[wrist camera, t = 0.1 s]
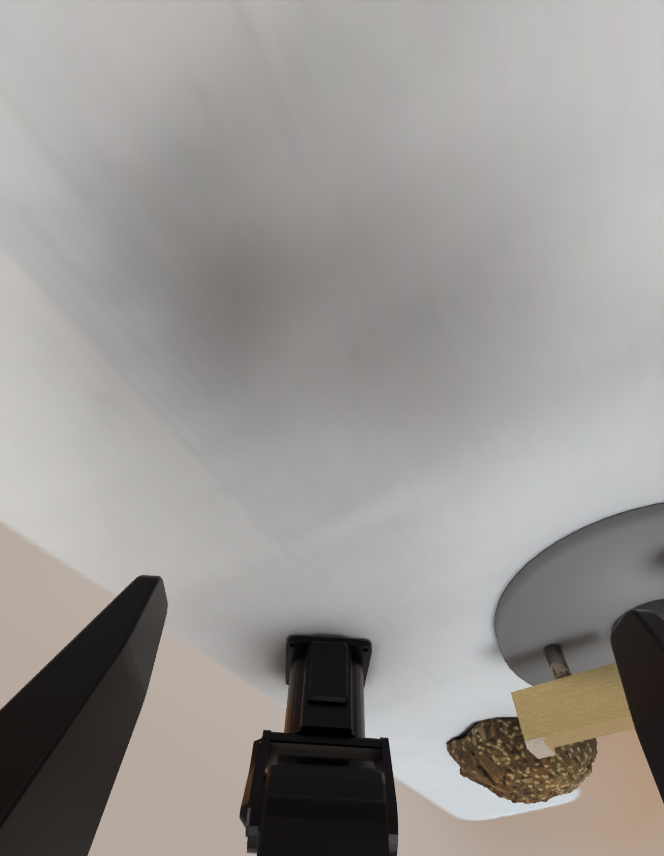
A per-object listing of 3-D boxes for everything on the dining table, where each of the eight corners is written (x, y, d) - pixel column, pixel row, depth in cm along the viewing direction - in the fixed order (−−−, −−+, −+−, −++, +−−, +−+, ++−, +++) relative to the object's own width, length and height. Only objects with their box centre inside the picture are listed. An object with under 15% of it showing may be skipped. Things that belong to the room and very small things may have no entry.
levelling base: (716, 694, 38) (747, 743, 35) (465, 678, 38) (475, 726, 35) (911, 511, 26) (983, 561, 23) (549, 486, 26) (575, 533, 23)
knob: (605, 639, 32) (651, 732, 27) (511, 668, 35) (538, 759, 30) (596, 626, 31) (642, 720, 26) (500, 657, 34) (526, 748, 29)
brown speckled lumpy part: (609, 722, 42) (638, 788, 38) (541, 774, 49) (559, 835, 45) (480, 701, 41) (495, 767, 36) (428, 757, 47) (436, 819, 43)
